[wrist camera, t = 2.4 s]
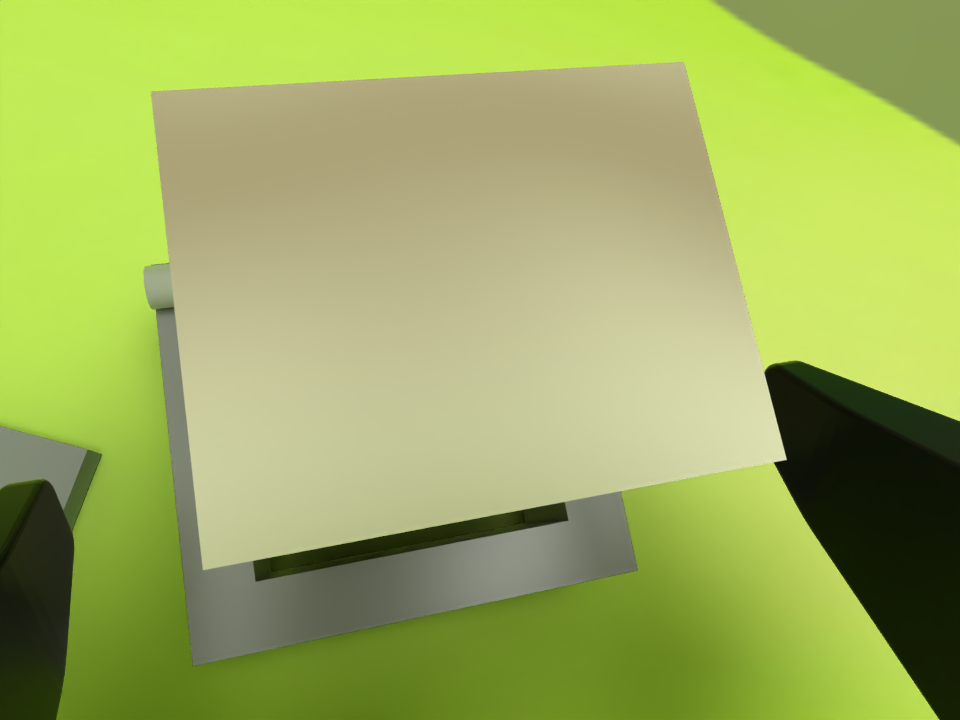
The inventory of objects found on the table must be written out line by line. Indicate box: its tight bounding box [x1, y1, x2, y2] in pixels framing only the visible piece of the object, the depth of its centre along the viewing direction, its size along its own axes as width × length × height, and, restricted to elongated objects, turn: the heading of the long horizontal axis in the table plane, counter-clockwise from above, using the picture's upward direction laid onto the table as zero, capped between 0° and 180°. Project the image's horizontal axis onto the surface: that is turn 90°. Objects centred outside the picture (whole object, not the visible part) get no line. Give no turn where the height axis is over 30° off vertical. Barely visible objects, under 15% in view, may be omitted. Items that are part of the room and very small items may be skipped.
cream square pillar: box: [151, 62, 787, 570], centre depth 12 cm, size 4×5×12 cm
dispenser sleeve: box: [144, 263, 638, 666], centre depth 16 cm, size 7×8×4 cm
